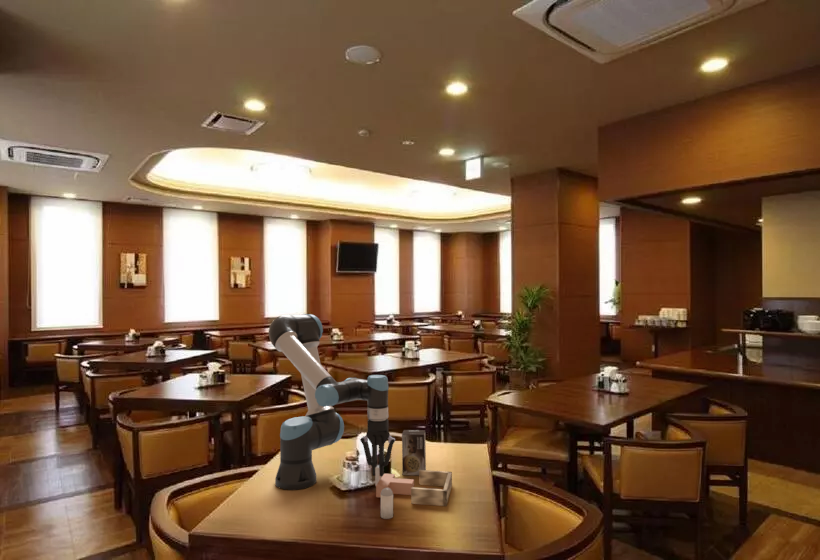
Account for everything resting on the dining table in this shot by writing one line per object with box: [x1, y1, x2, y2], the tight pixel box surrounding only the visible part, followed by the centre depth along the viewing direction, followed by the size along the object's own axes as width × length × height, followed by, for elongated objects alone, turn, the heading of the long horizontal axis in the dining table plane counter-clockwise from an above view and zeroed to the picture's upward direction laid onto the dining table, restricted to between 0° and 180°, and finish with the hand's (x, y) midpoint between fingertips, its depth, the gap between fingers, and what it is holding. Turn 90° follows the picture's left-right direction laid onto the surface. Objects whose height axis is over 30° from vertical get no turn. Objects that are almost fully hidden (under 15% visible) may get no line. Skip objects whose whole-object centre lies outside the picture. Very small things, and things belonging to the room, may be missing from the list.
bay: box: [410, 469, 453, 507], centre depth 178 cm, size 12×18×5 cm, turn 170°
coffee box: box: [401, 429, 427, 476], centre depth 199 cm, size 9×6×16 cm
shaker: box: [380, 488, 394, 520], centre depth 160 cm, size 4×4×9 cm
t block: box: [375, 472, 415, 498], centre depth 180 cm, size 12×12×4 cm
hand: (378, 484), depth 181 cm, fingers closed
